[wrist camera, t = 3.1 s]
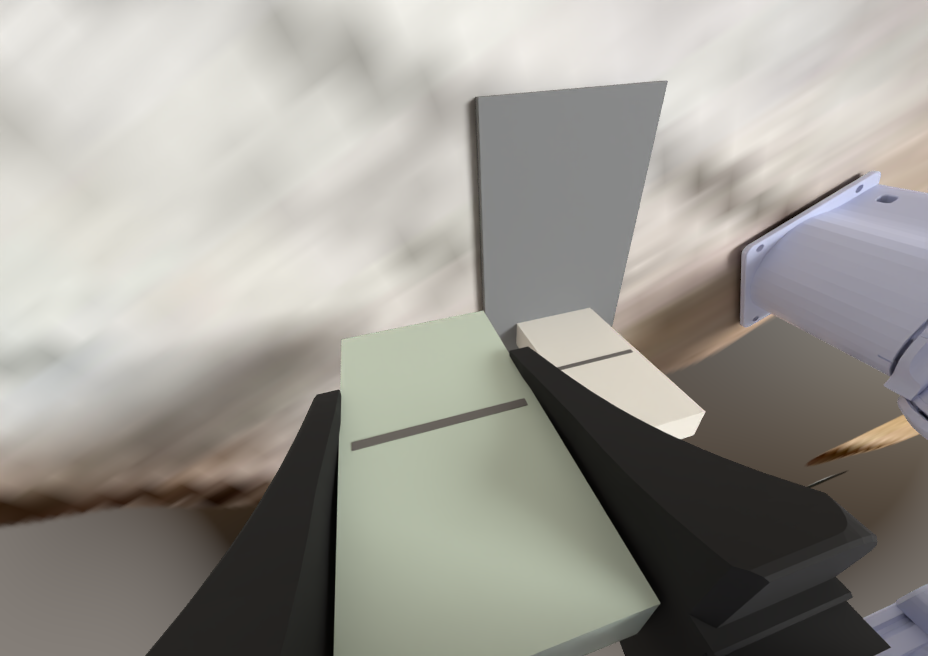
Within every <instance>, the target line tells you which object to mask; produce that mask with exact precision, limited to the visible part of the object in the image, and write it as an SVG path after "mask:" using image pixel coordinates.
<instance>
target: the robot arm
mask: <svg viewBox="0 0 928 656" xmlns="http://www.w3.org/2000/svg"><path fill="white" fill-rule="evenodd" d="M880 177H881V173H880V172H878V171H870V172H868V173H867V174H865V175H863V176H862V177H860V178H858V179H857V180H855V181H853V182H852V183H850V184H848V185H847V186H845V187H843V188H842V189H840V190H838V191H837V192H835V193H833V194H832V195H830V196H828V197H827V198H825V199H823V200H822V201H820V202H818V203H817V204H815V205H813V206H812V207H810V208H808V209H807V210H805V211H803V212H802V213H800V214H798V215H797V216H795V217H793V218H792V219H790V220H788V221H787V222H785V223H783V224H782V225H780V226H778V227H777V228H775V229H773V230H772V231H770V232H769V233H767V234H765V235H764V236H762V237H760V238H759V239H757V240H755V241H754V242H752V243H750V244H749V245H747V246H746V247H745V248H744V249H743V251H742V258H741V300H740V325H742V326H743V327H749V326H751V325H752V324H754V323H756V322H758V321H759V320H761V319H763V318H764V317H766V316H768V315H770V314H773V315H775V316H777V317H779V318H781V319H783V320H784V321H786V322H788V323H790V324H792V325H794V326H796V327H798V328H800V329H802V330H803V331H805V332H807V333H809V334H811V335H813V336H815V337H816V338H818V339H820V340H822V341H824V342H826V343H828V344H830V345H832V346H834V347H835V348H838V349H839V350H841V351H843V352H845V353H847V354H849V355H850V356H853V357H854V358H856V359H858V360H860V361H862V362H864V363H866V364H868V365H870V366H872V367H873V368H875V369H877V370H879V371H881V372H882V373H885V374H886V375H888V376H890V378H889V379H888V381H887V382H886V383H885V384H884V386H885V387H886V388H888V389H890V390H892V391H894V392H896V393H897V394H899V395H900V396H899V398H898V402H897V403H898V406H899V408H900V410H901V411H902V413H903V414H904V416H905V417H906V419H907V421H908V422H909V423H910V425H911V426H912V427H913V428H914V429H915V430H916V431H917V432H918V433H920V434H921V435H922V436H923V437H925V438H926V439H927V440H928V193H924V192H919V191H913V190H908V189H902V188H897V187H891V186H885V185H880V184H879V180H880ZM509 356H510V358H511V359H512V361H513V363H514V364H515V366H516V368H517V369H518V371H519V373H520V374H521V376H522V378H523V379H524V380H525V382H526V383H527V384H528V386H529V387H530V389H531V390H532V392H533V393H534V395H535V397H536V398H537V400H538V402H539V403H540V405H541V407H542V408H543V410H544V412H545V413H546V415H547V417H548V418H549V420H550V422H551V423H552V425H553V426H554V428H555V430H556V431H557V433H558V435H559V436H560V438H561V440H562V441H563V443H564V445H565V446H566V448H567V450H568V451H569V453H570V455H571V456H572V458H573V459H574V461H575V463H576V464H577V466H578V468H579V469H580V471H581V473H582V474H583V476H584V478H585V479H586V481H587V483H588V484H589V486H590V488H591V489H592V491H593V492H594V494H595V496H596V497H597V499H598V501H599V502H600V504H601V506H602V507H603V509H604V511H605V512H606V514H607V516H608V517H609V519H610V521H611V522H612V524H613V525H614V527H615V529H616V530H617V532H618V534H619V535H620V537H621V539H622V540H623V542H624V544H625V545H626V547H627V549H628V550H629V552H630V554H631V555H632V557H633V558H634V560H635V562H636V563H637V565H638V567H639V568H640V570H641V572H642V573H643V575H644V577H645V578H646V580H647V582H648V583H649V585H650V587H651V588H652V590H653V591H654V593H655V595H656V596H657V598H658V600H659V601H660V605H659V606H658V607H657V609H656V610H655V611H654V612H653V614H652V615H651V616H650V618H649V619H648V620H647V622H646V623H645V624H644V626H643V627H642V628H641V629H640V631H639V632H638V633H637V634H635V635H633V636H631V637H628V638H626V639H623V640H621V641H620V644H621V646H622V649H623V652H624V654H625V656H928V584H926V585H924V586H922V587H920V588H918V589H916V590H914V591H912V592H910V593H908V594H906V595H904V596H903V597H901V598H899V599H898V600H896V603H894V604H892V605H890V606H887V607H885V608H883V609H881V610H879V611H877V612H875V613H873V614H870V615H868V616H866V617H864V618H862V617H861V616H860V615H859V614H858V613H857V612H856V611H855V610H854V609H853V608H852V607H851V605H849V603H848V602H847V600H849V599H850V598H852V594H851V592H850V591H849V590H848V589H847V588H846V587H845V586H844V585H843V584H842V583H841V582H840V581H839V580H838V579H837V578H836V576H837V575H838V574H840V573H841V572H843V571H844V570H845V569H847V568H848V567H850V566H851V565H852V564H854V563H855V562H856V561H858V560H859V559H861V558H862V557H863V556H865V555H866V554H867V553H869V552H870V551H871V550H872V549H873V548H874V547H875V546H876V545H877V537H876V535H875V534H873V533H872V532H871V531H870V530H869V529H867V528H866V527H865V526H864V525H863V524H862V523H860V522H859V521H858V520H857V519H855V518H854V517H853V516H852V515H851V514H850V513H849V512H847V511H846V510H845V509H844V508H843V507H841V506H840V505H839V504H838V503H837V502H836V501H834V500H833V499H832V498H831V497H830V496H828V495H827V494H826V493H824V492H821V491H817V490H814V489H811V488H808V487H805V486H802V485H799V484H796V483H793V482H790V481H787V480H784V479H781V478H778V477H775V476H772V475H769V474H766V473H763V472H760V471H757V470H754V469H752V468H749V467H746V466H744V465H741V464H738V463H736V462H733V461H731V460H728V459H725V458H722V457H720V456H718V455H715V454H713V453H711V452H708V451H706V450H703V449H701V448H699V447H696V446H694V445H692V444H690V443H687V442H685V441H683V440H681V439H678V438H676V437H674V436H672V435H670V434H668V433H665V432H663V431H661V430H659V429H657V428H655V427H653V426H651V425H649V424H648V423H646V422H644V421H642V420H640V419H638V418H636V417H634V416H632V415H630V414H629V413H627V412H625V411H623V410H621V409H620V408H618V407H616V406H615V405H613V404H611V403H610V402H608V401H606V400H605V399H603V398H602V397H600V396H598V395H597V394H595V393H594V392H592V391H590V390H589V389H587V388H586V387H584V386H583V385H581V384H580V383H579V382H577V381H576V380H574V379H573V378H571V377H570V376H568V375H567V374H565V373H564V372H563V371H561V370H560V369H559V368H557V367H556V366H554V365H553V364H552V363H550V362H549V361H547V360H546V359H545V358H543V357H542V356H541V355H539V354H538V353H537V352H535V351H534V350H532V349H531V348H530V347H528V346H527V347H523V348H519V349H514V350H510V351H509ZM340 425H341V393H340V390H335V391H331V392H327V393H322V394H318V395H316V397H315V398H314V399H313V402H312V404H311V406H310V408H309V411H308V413H307V415H306V417H305V419H304V421H303V423H302V426H301V428H300V430H299V432H298V434H297V436H296V438H295V440H294V442H293V444H292V446H291V447H290V449H289V451H288V453H287V455H286V457H285V459H284V461H283V463H282V465H281V466H280V468H279V470H278V472H277V473H276V475H275V477H274V479H273V480H272V482H271V484H270V485H269V487H268V489H267V490H266V492H265V494H264V495H263V497H262V499H261V501H260V502H259V504H258V505H257V507H256V509H255V510H254V512H253V513H252V515H251V517H250V518H249V520H248V521H247V523H246V524H245V526H244V527H243V529H242V530H241V532H240V533H239V535H238V536H237V538H236V539H235V540H234V542H233V543H232V545H231V546H230V548H229V549H228V551H227V552H226V553H225V555H224V556H223V558H222V559H221V560H220V562H219V563H218V564H217V566H216V567H215V568H214V570H213V571H212V572H211V574H210V576H209V577H208V578H207V579H206V581H205V582H204V583H203V585H202V586H201V587H200V589H199V590H198V591H197V593H196V594H195V595H194V596H193V598H192V599H191V600H190V602H189V603H188V604H187V606H186V607H185V608H184V609H183V611H182V612H181V613H180V615H179V616H178V617H177V618H176V619H175V621H174V622H173V623H172V624H171V625H170V626H169V628H168V629H167V630H166V631H165V633H164V634H163V635H162V636H161V637H160V639H159V640H158V641H157V642H156V643H155V645H154V646H153V647H152V648H151V649H150V651H149V652H148V653H147V654H146V656H334V617H335V578H336V538H337V498H338V458H339V432H340Z"/></svg>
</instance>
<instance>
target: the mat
mask: <svg viewBox="0 0 928 656" xmlns="http://www.w3.org/2000/svg"><path fill="white" fill-rule="evenodd" d="M667 82H668V81H654V82H643V83H631V84H620V85H608V86H597V87H585V88H574V89H562V90H551V91H539V92H528V93H516V94H505V95H493V96H482V97H476V125H477V152H478V180H479V208H480V235H481V263H482V291H483V311H484V313H485V314H486V316H487V318H488V319H489V321H490V322H491V324H492V326H493V327H494V329H495V331H496V332H497V334H498V336H499V337H500V339H501V341H502V342H503V344H504V346H505V347H506V349H507V351H508V352H509V351H510V350H514V349H519V347H518V346H517V344H516V336H517V323H521V322H526V321H531V320H535V319H540V318H545V317H549V316H554V315H558V314H563V313H568V312H572V311H577V310H582V309H586V308H591V309H592V310H593V311H594V312H595V313H597V314H598V315H599V316H600V317H601V318H602V319H603V320H604V321H605V322H607V323H608V324H609V325H610V326H611V327H612V324H613V320H614V316H615V311H616V307H617V302H618V298H619V294H620V289H621V285H622V280H623V276H624V272H625V267H626V263H627V258H628V254H629V249H630V245H631V241H632V236H633V232H634V227H635V223H636V219H637V214H638V210H639V205H640V201H641V196H642V192H643V188H644V183H645V179H646V174H647V170H648V166H649V161H650V157H651V152H652V148H653V144H654V139H655V135H656V130H657V126H658V121H659V117H660V113H661V108H662V104H663V99H664V95H665V91H666V86H667Z"/></svg>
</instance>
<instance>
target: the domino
mask: <svg viewBox="0 0 928 656" xmlns="http://www.w3.org/2000/svg"><path fill="white" fill-rule="evenodd" d="M516 344H517V346H518V347H519V348H523V347H527V346H528V347H530V348H531V349H532V350H534V351H535V352H537V353H538V354H539V355H541V356H542V357H543V358H545V359H546V360H547V361H549V362H550V363H552V364H553V365H554V366H556V367H557V368H559V369H560V370H561V371H563V372H564V373H565V374H567V375H568V376H570V377H571V378H573V379H574V380H576V381H577V382H579V383H580V384H581V385H583V386H584V387H586V388H587V389H589V390H590V391H592V392H594V393H595V394H597V395H598V396H600V397H602V398H603V399H605V400H606V401H608V402H610V403H611V404H613V405H615V406H616V407H618V408H620V409H621V410H623V411H625V412H627V413H629V414H630V415H632V416H634V417H636V418H638V419H640V420H642V421H644V422H646V423H648V424H649V425H651V426H653V427H655V428H657V429H659V430H661V431H663V432H665V433H668V434H670V435H672V436H674V437H676V438H678V439H682V438H685V437H689V436H692V435H694V433H695V431H696V429H697V427H698V425H699V423H700V421H701V419H702V417H703V415H704V413H705V411H704V410H703V409H702V408H701V407H700V406H699V405H697V404H696V403H695V402H694V401H693V400H692V399H691V398H690V397H688V396H687V395H686V394H685V393H684V392H683V391H682V390H681V389H680V388H679V387H677V386H676V385H675V384H674V383H673V382H672V381H671V380H670V379H668V377H666V376H665V375H664V374H663V373H662V372H661V371H660V370H659V369H658V368H656V367H655V366H654V365H653V364H652V363H651V362H650V361H649V360H648V359H646V358H645V357H644V356H643V355H642V354H641V353H640V352H639V351H638V350H636V349H635V348H634V347H633V346H632V345H631V344H630V343H629V342H628V341H626V340H625V339H624V338H623V337H622V336H621V335H620V334H619V333H618V332H616V331H615V330H614V329H613V328H612V327H611V326H610V325H609V324H608V323H607V322H605V321H604V320H603V319H602V318H601V317H600V316H599V315H598V314H597V313H595V312H594V311H593V310H592V309H591V308H586V309H582V310H577V311H572V312H568V313H563V314H558V315H554V316H549V317H545V318H540V319H535V320H531V321H526V322H521V323H517V336H516Z"/></svg>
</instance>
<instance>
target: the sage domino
mask: <svg viewBox="0 0 928 656" xmlns="http://www.w3.org/2000/svg"><path fill="white" fill-rule="evenodd" d="M340 393H341V425H340V432H339V458H338V498H337V538H336V578H335V617H334V656H584V655H587V654H589V653H592V652H594V651H597V650H599V649H602V648H604V647H606V646H609V645H611V644H613V643H616V642H618V641H621V640H623V639H626V638H628V637H631V636H633V635H635V634H637V633H638V632H639V631H640V629H641V628H642V627H643V626H644V624H645V623H646V622H647V620H648V619H649V618H650V616H651V615H652V614H653V612H654V611H655V610H656V609H657V607H658V606H659V605H660V601H659V600H658V598H657V596H656V595H655V593H654V591H653V590H652V588H651V587H650V585H649V583H648V582H647V580H646V578H645V577H644V575H643V573H642V572H641V570H640V568H639V567H638V565H637V563H636V562H635V560H634V558H633V557H632V555H631V554H630V552H629V550H628V549H627V547H626V545H625V544H624V542H623V540H622V539H621V537H620V535H619V534H618V532H617V530H616V529H615V527H614V525H613V524H612V522H611V521H610V519H609V517H608V516H607V514H606V512H605V511H604V509H603V507H602V506H601V504H600V502H599V501H598V499H597V497H596V496H595V494H594V492H593V491H592V489H591V488H590V486H589V484H588V483H587V481H586V479H585V478H584V476H583V474H582V473H581V471H580V469H579V468H578V466H577V464H576V463H575V461H574V459H573V458H572V456H571V455H570V453H569V451H568V450H567V448H566V446H565V445H564V443H563V441H562V440H561V438H560V436H559V435H558V433H557V431H556V430H555V428H554V426H553V425H552V423H551V422H550V420H549V418H548V417H547V415H546V413H545V412H544V410H543V408H542V407H541V405H540V403H539V402H538V400H537V398H536V397H535V395H534V393H533V392H532V390H531V389H530V387H529V386H528V384H527V383H526V382H525V380H524V379H523V378H522V376H521V374H520V373H519V371H518V369H517V368H516V366H515V364H514V363H513V361H512V359H511V358H510V356H509V352H508V351H507V349H506V347H505V346H504V344H503V342H502V341H501V339H500V337H499V336H498V334H497V332H496V331H495V329H494V327H493V326H492V324H491V322H490V321H489V319H488V318H487V316H486V314H485V313H484V311H479V312H474V313H469V314H464V315H459V316H454V317H449V318H444V319H439V320H435V321H430V322H425V323H420V324H415V325H410V326H405V327H400V328H395V329H390V330H385V331H380V332H376V333H371V334H366V335H361V336H356V337H351V338H346V339H341V378H340Z"/></svg>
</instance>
